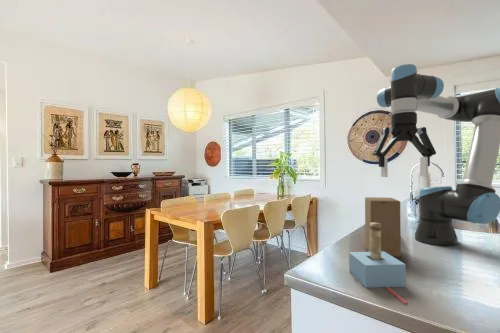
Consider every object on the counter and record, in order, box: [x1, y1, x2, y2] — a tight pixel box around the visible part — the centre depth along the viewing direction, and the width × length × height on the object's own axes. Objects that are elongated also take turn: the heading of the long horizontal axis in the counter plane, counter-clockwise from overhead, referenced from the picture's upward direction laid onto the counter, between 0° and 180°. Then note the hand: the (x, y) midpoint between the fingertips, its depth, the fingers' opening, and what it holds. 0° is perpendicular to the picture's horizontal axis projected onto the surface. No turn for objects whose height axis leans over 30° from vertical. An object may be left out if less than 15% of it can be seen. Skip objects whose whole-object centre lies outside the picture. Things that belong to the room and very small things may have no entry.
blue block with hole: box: [348, 251, 407, 289], centre depth 79 cm, size 11×11×6 cm
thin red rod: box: [385, 287, 408, 305], centre depth 69 cm, size 1×8×1 cm, turn 2°
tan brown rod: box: [370, 222, 381, 260], centre depth 79 cm, size 3×3×16 cm
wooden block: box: [364, 196, 402, 258], centre depth 103 cm, size 10×10×20 cm
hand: (404, 176), depth 92 cm, fingers open, 13 cm apart
